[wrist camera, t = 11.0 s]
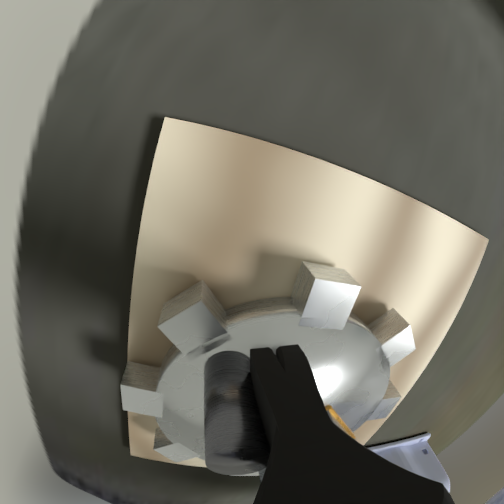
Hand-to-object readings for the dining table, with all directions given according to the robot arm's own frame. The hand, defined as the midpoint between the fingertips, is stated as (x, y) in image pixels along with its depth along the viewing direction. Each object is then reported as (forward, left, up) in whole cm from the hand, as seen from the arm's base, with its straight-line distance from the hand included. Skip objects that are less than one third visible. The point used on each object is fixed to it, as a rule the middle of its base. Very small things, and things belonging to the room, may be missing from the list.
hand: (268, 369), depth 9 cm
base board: (-3, +3, -3) cm, 6 cm away
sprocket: (-2, +4, -2) cm, 5 cm away
